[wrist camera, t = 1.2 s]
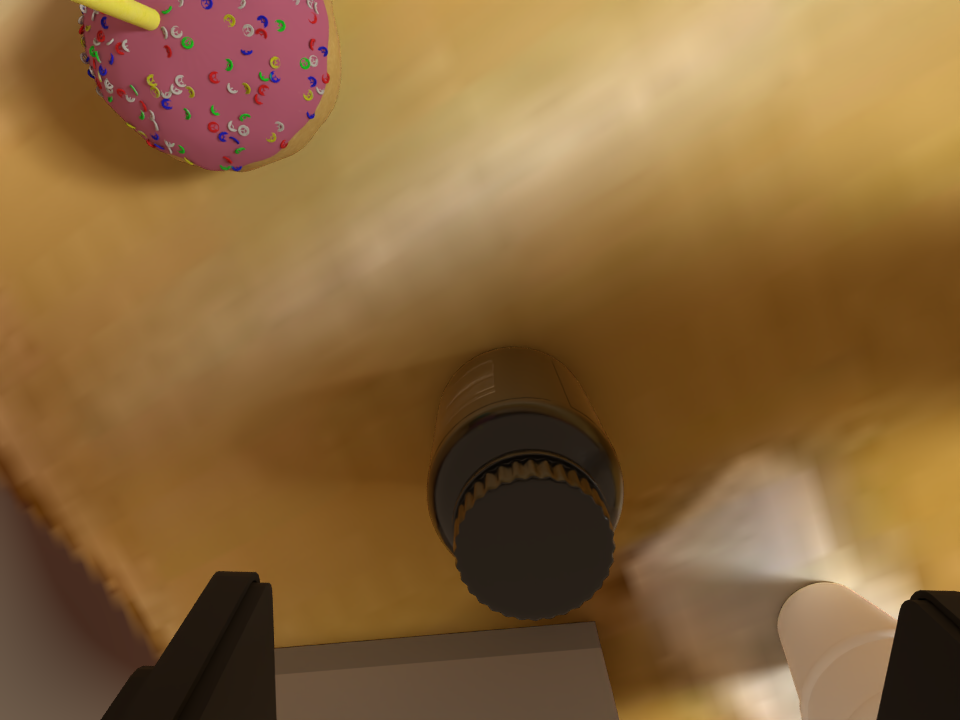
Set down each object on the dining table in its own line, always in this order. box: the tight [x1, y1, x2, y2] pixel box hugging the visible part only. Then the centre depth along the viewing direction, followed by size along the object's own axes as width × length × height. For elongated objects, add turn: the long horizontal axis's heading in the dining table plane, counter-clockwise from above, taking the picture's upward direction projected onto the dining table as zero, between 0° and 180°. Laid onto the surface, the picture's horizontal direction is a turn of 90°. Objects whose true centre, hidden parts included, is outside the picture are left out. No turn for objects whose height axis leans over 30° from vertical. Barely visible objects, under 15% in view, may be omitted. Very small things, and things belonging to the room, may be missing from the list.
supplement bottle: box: [427, 347, 624, 621], centre depth 26 cm, size 7×7×12 cm
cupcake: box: [70, 0, 341, 172], centre depth 23 cm, size 9×8×12 cm
